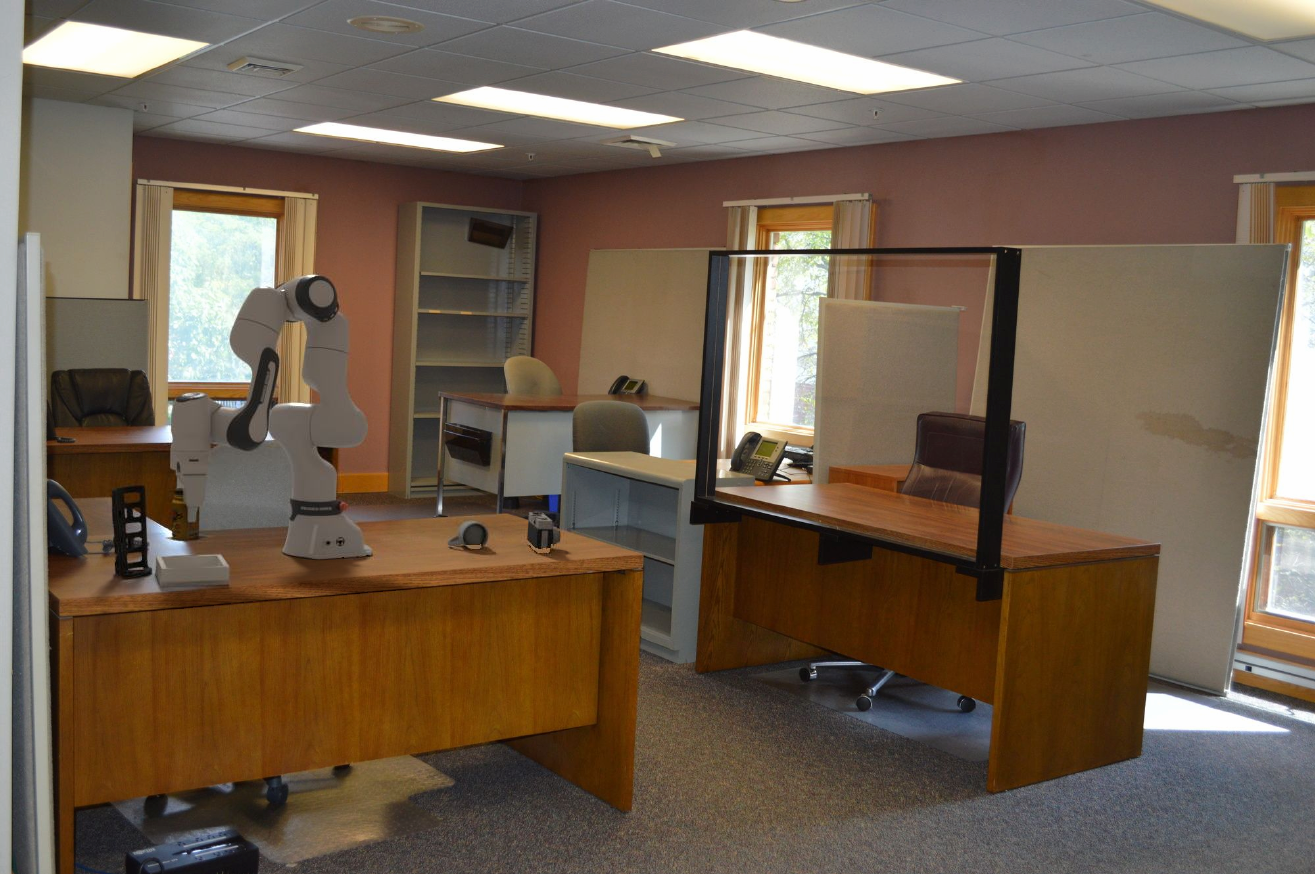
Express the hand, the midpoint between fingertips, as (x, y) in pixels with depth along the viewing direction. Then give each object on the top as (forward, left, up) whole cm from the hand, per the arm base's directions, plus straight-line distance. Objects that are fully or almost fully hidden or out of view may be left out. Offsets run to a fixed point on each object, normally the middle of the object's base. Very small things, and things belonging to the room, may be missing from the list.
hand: (189, 518), depth 270 cm
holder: (+13, +8, -12) cm, 19 cm away
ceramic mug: (-75, -13, -12) cm, 77 cm away
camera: (-96, -8, -12) cm, 97 cm away
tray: (+1, +15, -11) cm, 19 cm away
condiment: (0, 0, -5) cm, 5 cm away
